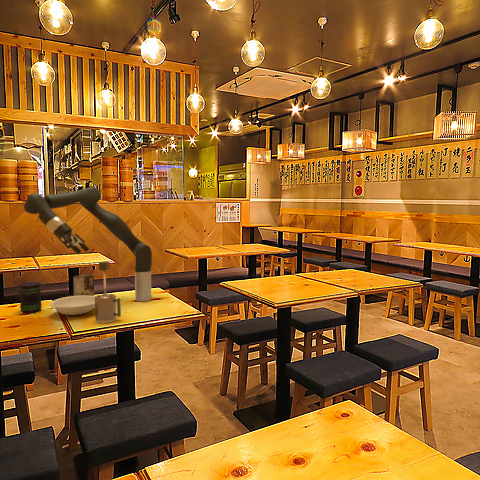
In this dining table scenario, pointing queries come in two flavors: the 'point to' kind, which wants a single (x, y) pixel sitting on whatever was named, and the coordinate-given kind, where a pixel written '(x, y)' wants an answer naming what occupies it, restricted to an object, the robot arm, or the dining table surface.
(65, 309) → the soup bowl
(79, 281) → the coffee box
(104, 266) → the plunger
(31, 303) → the storage jar
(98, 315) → the brown mug
